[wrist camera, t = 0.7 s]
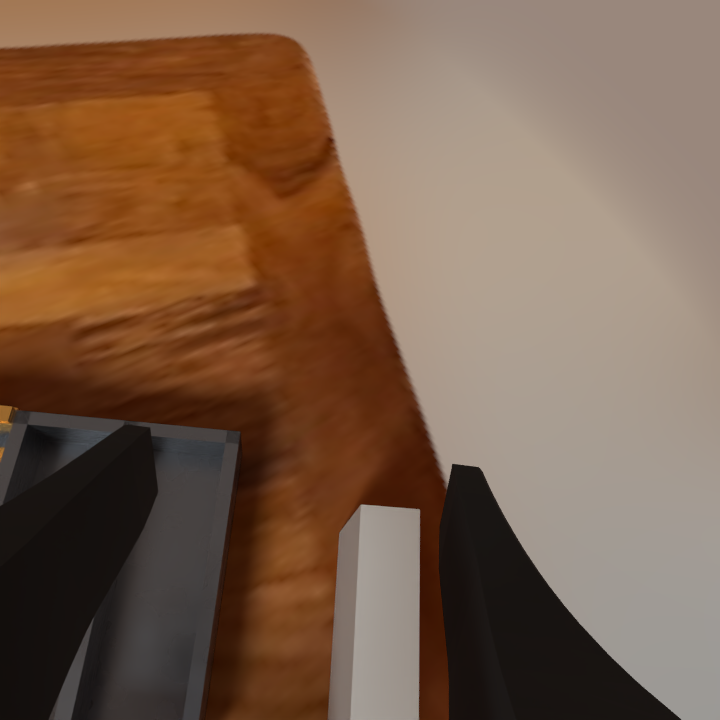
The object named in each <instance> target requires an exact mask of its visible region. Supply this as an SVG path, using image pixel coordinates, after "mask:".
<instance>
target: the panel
mask: <svg viewBox="0 0 720 720" xmlns="http://www.w3.org/2000/svg"><path fill="white" fill-rule="evenodd" d="M419 597H420V509H410V508H398V507H386V506H374V505H362V504H361V505H360V506H359V508H358V509H357V510H356V512H355V513H354V514H353V515H352V517H351V518H350V519H349V521H348V522H347V523H346V525H345V526H344V527H343V529H342V530H341V531H340V533H339V547H338V563H337V579H336V595H335V610H334V626H333V642H332V658H331V674H330V689H329V705H328V720H419Z"/></svg>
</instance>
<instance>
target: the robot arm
mask: <svg viewBox="0 0 720 720" xmlns="http://www.w3.org/2000/svg"><path fill="white" fill-rule="evenodd" d="M157 494H158V485H157V477H156V469H155V461H154V453H153V445H152V437H151V429H150V427H144V426H135V425H127V424H125V425H123V426H122V427H120V428H119V429H117V430H116V431H114V432H113V433H111V434H110V435H109V436H107V437H106V438H104V439H103V440H101V441H100V442H99V443H97V444H96V445H94V446H93V447H91V448H90V449H89V450H87V451H86V452H84V453H83V454H81V455H80V456H78V457H77V458H75V459H74V460H73V461H71V462H70V463H68V464H67V465H65V466H64V467H62V468H61V469H59V470H58V471H56V472H55V473H53V474H52V475H50V476H49V477H47V478H45V479H44V480H42V481H41V482H39V483H37V484H36V485H34V486H33V487H31V488H29V489H28V490H26V491H25V492H23V493H21V494H20V495H18V496H16V497H15V498H13V499H12V500H10V501H8V502H6V503H5V504H3V505H1V506H0V720H49V718H50V715H51V713H52V710H53V708H54V705H55V703H56V701H57V698H58V696H59V693H60V691H61V689H62V686H63V684H64V681H65V679H66V677H67V674H68V672H69V670H70V667H71V665H72V663H73V661H74V658H75V656H76V654H77V652H78V649H79V647H80V645H81V643H82V640H83V638H84V636H85V634H86V631H87V629H88V627H89V626H90V624H91V622H92V620H93V618H94V616H95V614H96V612H97V610H98V608H99V607H100V605H101V603H102V601H103V600H104V598H105V596H106V594H107V593H108V591H109V589H110V588H111V586H112V584H113V582H114V581H115V579H116V577H117V575H118V574H119V572H120V570H121V568H122V567H123V565H124V563H125V561H126V560H127V558H128V556H129V554H130V552H131V551H132V549H133V547H134V545H135V544H136V542H137V540H138V538H139V536H140V535H141V533H142V531H143V529H144V526H145V524H146V522H147V519H148V517H149V515H150V512H151V510H152V507H153V504H154V502H155V499H156V497H157ZM439 574H440V585H441V595H442V606H443V616H444V626H445V636H446V646H447V656H448V672H449V720H681V719H680V718H679V717H678V716H676V715H675V714H674V713H673V712H671V710H669V709H668V708H667V707H666V706H665V705H664V704H662V703H661V702H660V701H659V700H658V699H656V698H655V697H654V696H653V695H652V694H650V693H649V692H648V691H647V690H646V689H644V688H643V687H642V686H641V685H640V684H639V683H638V682H637V681H635V680H634V679H633V678H632V677H631V676H630V675H629V674H628V673H627V672H626V671H625V670H624V669H623V668H622V667H621V666H620V665H619V664H618V663H617V662H616V661H614V660H613V659H612V658H611V657H610V656H609V655H608V654H607V652H606V651H605V650H603V648H602V647H601V646H600V645H599V644H598V643H597V642H596V641H595V640H594V639H593V638H592V636H591V635H589V633H588V632H587V631H586V630H585V629H584V628H583V627H582V626H581V625H580V624H579V622H578V621H577V620H576V619H575V618H574V617H573V615H572V614H571V613H570V612H569V611H568V609H567V608H566V607H565V606H564V605H563V603H562V602H561V601H560V599H559V598H558V597H557V596H556V594H555V593H554V592H553V590H552V589H551V588H550V587H549V585H548V584H547V582H546V581H545V580H544V578H543V577H542V575H541V574H540V573H539V571H538V570H537V568H536V567H535V565H534V564H533V562H532V561H531V559H530V558H529V556H528V555H527V554H526V552H525V550H524V549H523V547H522V545H521V544H520V542H519V541H518V539H517V537H516V535H515V534H514V532H513V531H512V529H511V527H510V525H509V524H508V522H507V520H506V518H505V517H504V515H503V513H502V511H501V509H500V507H499V505H498V503H497V501H496V499H495V498H494V496H493V494H492V492H491V489H490V487H489V485H488V483H487V481H486V479H485V476H484V474H483V472H482V471H481V469H480V468H479V467H473V466H464V465H457V464H452V469H451V475H450V479H449V484H448V489H447V494H446V499H445V503H444V508H443V513H442V518H441V523H440V535H439Z"/></svg>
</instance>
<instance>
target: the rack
mask: <svg viewBox="0 0 720 720" xmlns="http://www.w3.org/2000/svg"><path fill="white" fill-rule="evenodd" d="M125 424H127V425H135V426H144V427H150V429H151V437H152V445H153V453H154V461H155V469H156V477H157V485H158V494H157V497H156V499H155V502H154V504H153V507H152V510H151V512H150V515H149V517H148V519H147V522H146V524H145V526H144V529H143V531H142V533H141V535H140V536H139V538H138V540H137V542H136V544H135V545H134V547H133V549H132V551H131V552H130V554H129V556H128V558H127V560H126V561H125V563H124V565H123V567H122V568H121V570H120V572H119V574H118V575H117V577H116V579H115V581H114V582H113V584H112V586H111V588H110V589H109V591H108V593H107V594H106V596H105V598H104V600H103V601H102V603H101V605H100V607H99V608H98V610H97V612H96V614H95V616H94V618H93V620H92V622H91V624H90V626H89V627H88V629H87V631H86V634H85V636H84V638H83V640H82V643H81V645H80V647H79V649H78V652H77V654H76V656H75V658H74V661H73V663H72V665H71V667H70V670H69V672H68V674H67V677H66V679H65V681H64V684H63V686H62V689H61V691H60V693H59V696H58V698H57V701H56V703H55V705H54V708H53V710H52V713H51V715H50V718H49V720H205V714H206V707H207V700H208V693H209V686H210V678H211V671H212V664H213V657H214V650H215V643H216V636H217V629H218V622H219V614H220V607H221V600H222V593H223V586H224V579H225V572H226V565H227V558H228V550H229V543H230V536H231V529H232V522H233V515H234V508H235V501H236V494H237V486H238V479H239V472H240V465H241V458H242V445H241V433H240V432H239V431H228V430H218V429H208V428H197V427H187V426H176V425H166V424H156V423H145V422H135V421H124V420H114V419H103V418H93V417H83V416H72V415H62V414H51V413H41V412H31V411H21V410H20V409H19V408H16V407H12V406H2V405H0V506H1V505H3V504H5V503H6V502H8V501H10V500H12V499H13V498H15V497H16V496H18V495H20V494H21V493H23V492H25V491H26V490H28V489H29V488H31V487H33V486H34V485H36V484H37V483H39V482H41V481H42V480H44V479H45V478H47V477H49V476H50V475H52V474H53V473H55V472H56V471H58V470H59V469H61V468H62V467H64V466H65V465H67V464H68V463H70V462H71V461H73V460H74V459H75V458H77V457H78V456H80V455H81V454H83V453H84V452H86V451H87V450H89V449H90V448H91V447H93V446H94V445H96V444H97V443H99V442H100V441H101V440H103V439H104V438H106V437H107V436H109V435H110V434H111V433H113V432H114V431H116V430H117V429H119V428H120V427H122V426H123V425H125Z"/></svg>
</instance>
